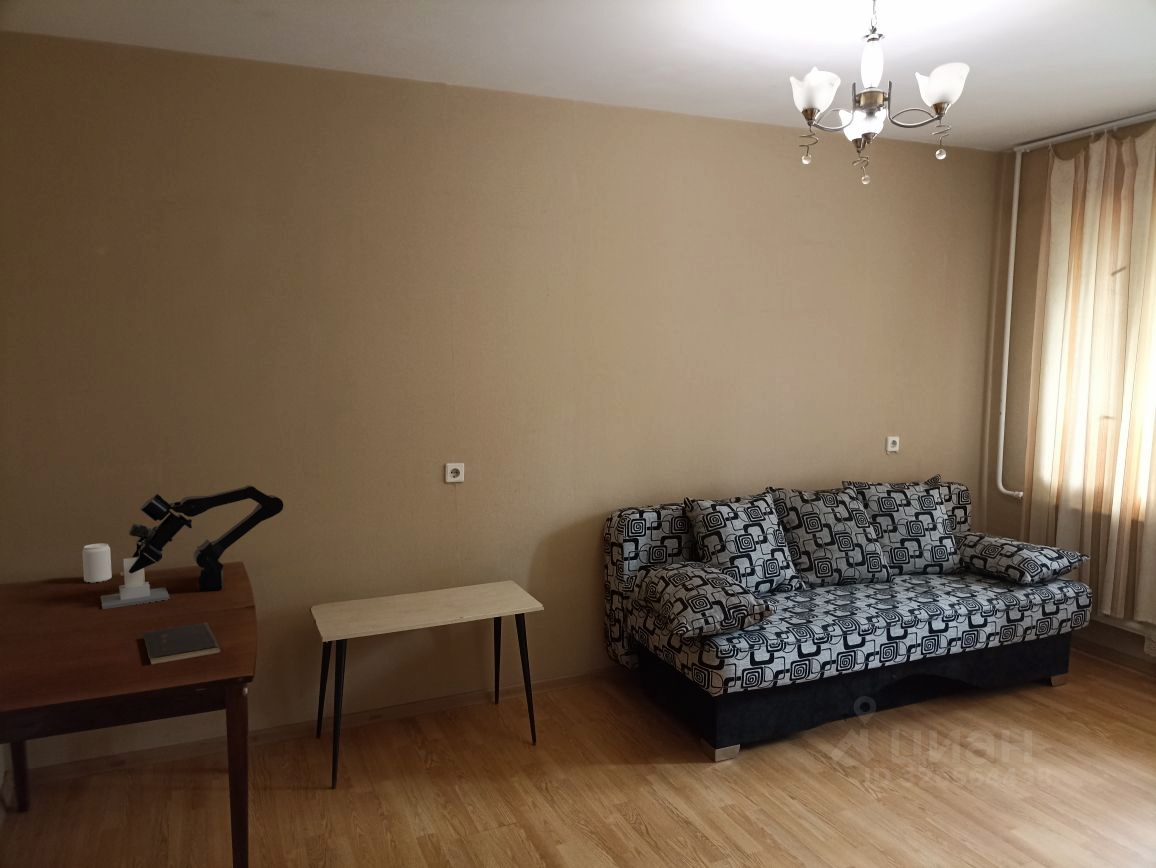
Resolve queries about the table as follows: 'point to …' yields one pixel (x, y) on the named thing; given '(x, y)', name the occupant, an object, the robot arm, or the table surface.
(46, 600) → the table surface
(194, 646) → the hardcover book
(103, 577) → the beverage can
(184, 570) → the table surface
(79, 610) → the table surface
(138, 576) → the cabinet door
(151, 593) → the grey base plate
